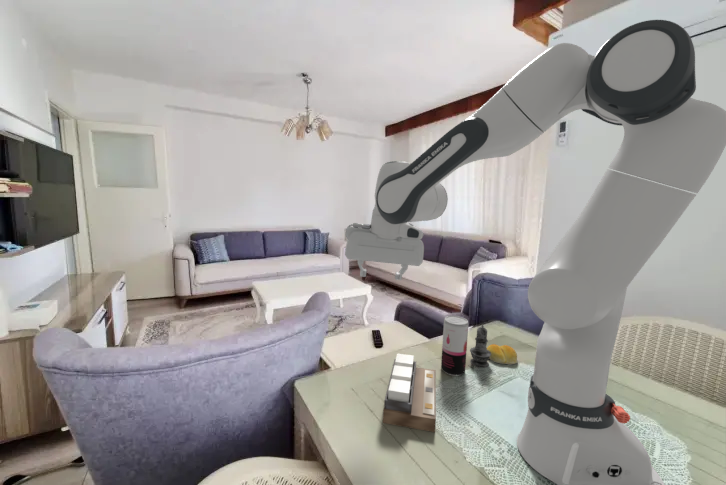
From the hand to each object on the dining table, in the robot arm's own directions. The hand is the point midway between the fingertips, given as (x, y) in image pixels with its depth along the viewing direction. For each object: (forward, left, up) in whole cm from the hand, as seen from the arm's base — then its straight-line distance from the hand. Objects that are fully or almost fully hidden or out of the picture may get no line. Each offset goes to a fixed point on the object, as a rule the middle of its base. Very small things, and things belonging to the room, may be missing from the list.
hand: (380, 277), depth 82 cm
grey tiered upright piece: (-28, -13, -27) cm, 42 cm away
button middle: (-7, +9, -23) cm, 26 cm away
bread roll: (-36, -18, -28) cm, 48 cm away
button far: (-7, +3, -23) cm, 24 cm away
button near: (-7, +15, -23) cm, 28 cm away
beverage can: (-20, -7, -27) cm, 35 cm away
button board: (-10, +9, -27) cm, 30 cm away
